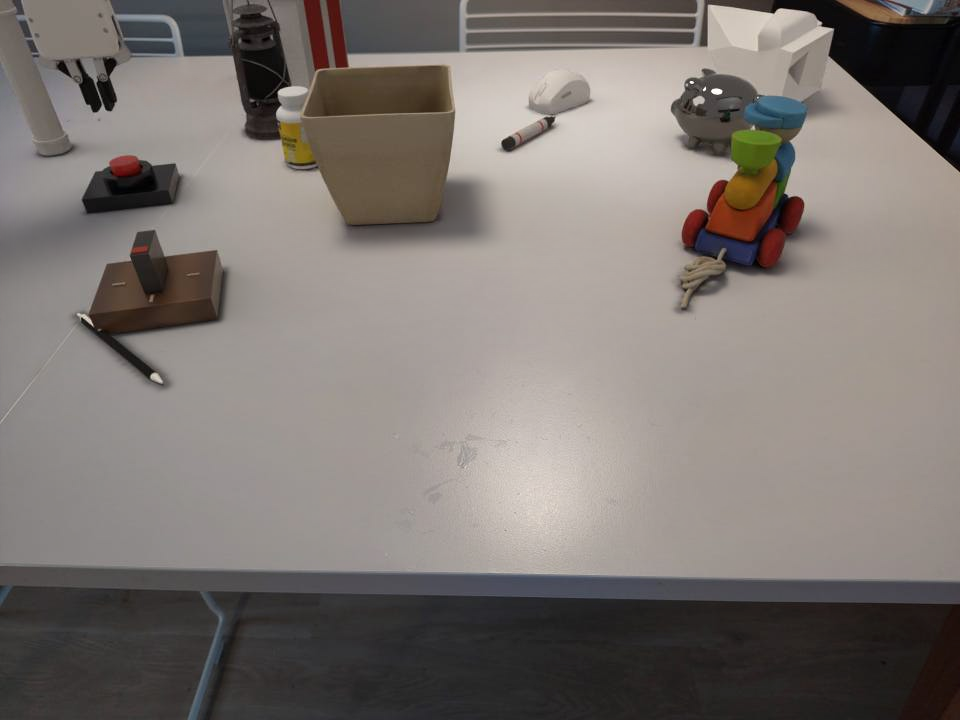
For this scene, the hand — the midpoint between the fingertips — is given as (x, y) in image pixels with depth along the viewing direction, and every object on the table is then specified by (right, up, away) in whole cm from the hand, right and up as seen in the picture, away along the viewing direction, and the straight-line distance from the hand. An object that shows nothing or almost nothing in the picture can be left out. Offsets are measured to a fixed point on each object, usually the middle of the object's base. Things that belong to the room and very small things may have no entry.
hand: (104, 108), depth 96 cm
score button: (0, -7, +6) cm, 10 cm away
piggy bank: (+92, +1, +19) cm, 94 cm away
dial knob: (+15, -26, -16) cm, 34 cm away
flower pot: (+40, -13, +4) cm, 43 cm away
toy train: (+86, -21, -7) cm, 89 cm away
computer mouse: (+69, +14, +36) cm, 79 cm away
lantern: (+16, +7, +28) cm, 33 cm away
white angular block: (+106, +16, +37) cm, 114 cm away
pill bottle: (+24, -3, +17) cm, 30 cm away
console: (+15, -29, -14) cm, 35 cm away
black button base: (0, -10, +8) cm, 13 cm away
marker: (+62, +4, +24) cm, 67 cm away
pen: (+13, -35, -21) cm, 43 cm away
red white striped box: (+16, +20, +45) cm, 52 cm away
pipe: (-20, +1, +22) cm, 30 cm away
